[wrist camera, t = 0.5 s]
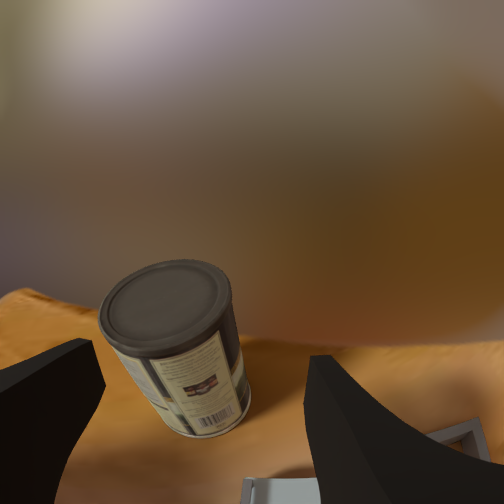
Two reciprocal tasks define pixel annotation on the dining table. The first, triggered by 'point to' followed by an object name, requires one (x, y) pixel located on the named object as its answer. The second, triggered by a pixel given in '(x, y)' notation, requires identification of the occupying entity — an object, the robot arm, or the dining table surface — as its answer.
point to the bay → (465, 438)
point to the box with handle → (280, 491)
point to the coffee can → (180, 344)
